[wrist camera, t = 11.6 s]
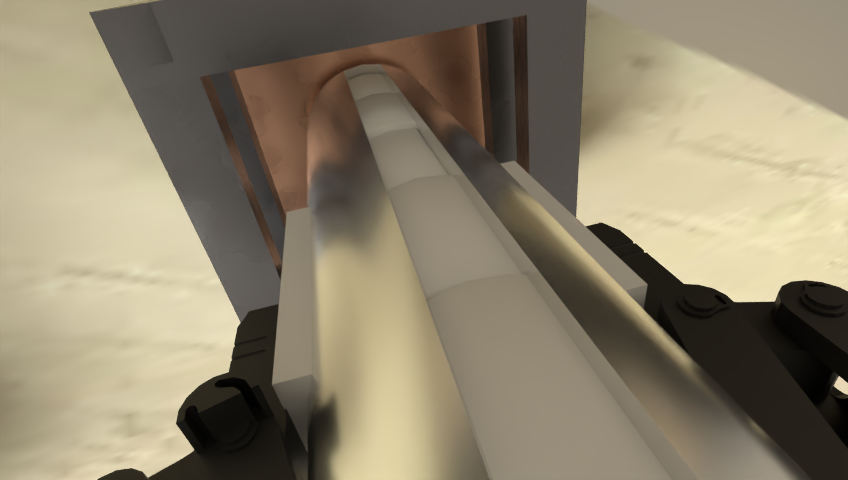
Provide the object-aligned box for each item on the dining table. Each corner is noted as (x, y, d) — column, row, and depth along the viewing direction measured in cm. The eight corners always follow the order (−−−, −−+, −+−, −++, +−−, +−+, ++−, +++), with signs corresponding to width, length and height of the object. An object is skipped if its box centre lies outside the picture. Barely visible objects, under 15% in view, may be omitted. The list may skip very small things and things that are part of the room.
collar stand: (278, 260, 27) (266, 375, 19) (175, -5, 19) (89, 12, 12) (501, 207, 28) (572, 294, 21) (487, -58, 21) (590, -73, 13)
